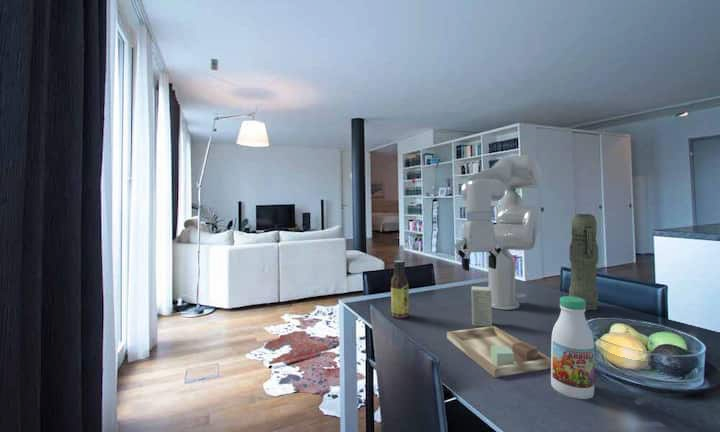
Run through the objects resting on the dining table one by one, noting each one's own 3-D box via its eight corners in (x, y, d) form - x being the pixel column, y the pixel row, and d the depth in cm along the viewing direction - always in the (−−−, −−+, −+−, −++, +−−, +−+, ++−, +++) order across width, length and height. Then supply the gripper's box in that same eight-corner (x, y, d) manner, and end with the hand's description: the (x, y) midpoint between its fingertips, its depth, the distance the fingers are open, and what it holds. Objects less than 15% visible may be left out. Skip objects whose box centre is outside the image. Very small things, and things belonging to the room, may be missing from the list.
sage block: (506, 361, 81) (506, 345, 80) (514, 369, 77) (514, 353, 76) (490, 361, 81) (490, 346, 81) (497, 370, 77) (497, 353, 77)
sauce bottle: (408, 319, 112) (407, 263, 111) (390, 318, 113) (389, 262, 113) (409, 313, 119) (408, 259, 118) (392, 312, 120) (391, 259, 119)
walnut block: (523, 356, 83) (523, 341, 83) (537, 363, 79) (537, 348, 79) (512, 360, 81) (512, 344, 81) (526, 367, 78) (526, 351, 77)
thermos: (587, 302, 127) (588, 213, 125) (605, 312, 115) (606, 214, 113) (562, 301, 128) (563, 213, 126) (578, 312, 116) (579, 215, 115)
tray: (494, 333, 99) (494, 325, 99) (553, 369, 77) (553, 359, 77) (447, 340, 95) (446, 331, 95) (494, 379, 74) (494, 369, 74)
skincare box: (491, 322, 108) (491, 286, 107) (492, 327, 104) (492, 290, 103) (471, 320, 110) (471, 285, 109) (471, 325, 106) (471, 289, 105)
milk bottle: (543, 382, 72) (543, 294, 72) (575, 379, 73) (576, 292, 72) (568, 403, 65) (568, 305, 64) (603, 400, 65) (605, 303, 65)
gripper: (495, 215, 111) (495, 265, 112) (449, 217, 107) (449, 268, 108) (509, 216, 104) (509, 269, 104) (460, 218, 100) (461, 273, 101)
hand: (479, 269), depth 106 cm, fingers open, 9 cm apart
